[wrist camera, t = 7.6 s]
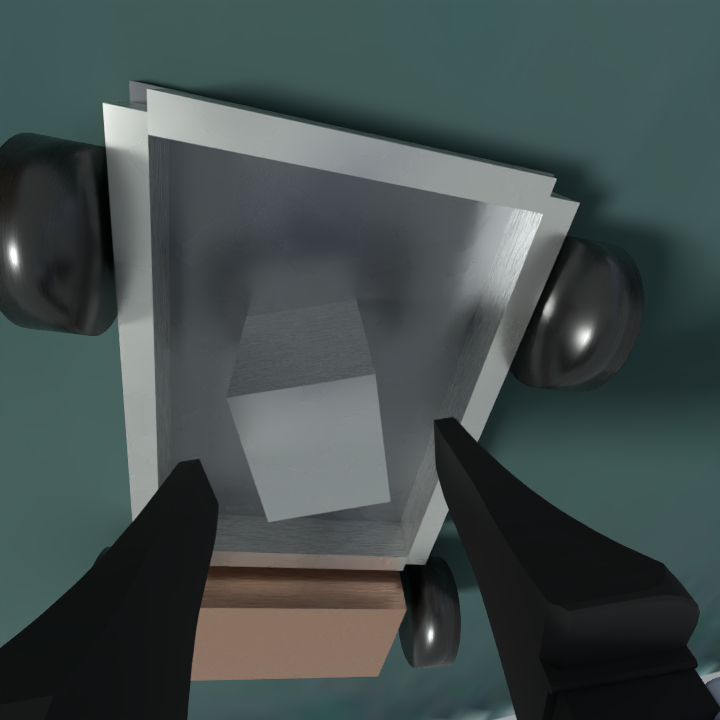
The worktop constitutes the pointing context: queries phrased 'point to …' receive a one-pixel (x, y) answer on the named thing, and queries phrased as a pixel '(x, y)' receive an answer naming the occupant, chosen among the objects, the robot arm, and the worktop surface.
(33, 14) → the worktop surface
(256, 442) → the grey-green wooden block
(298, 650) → the chassis
